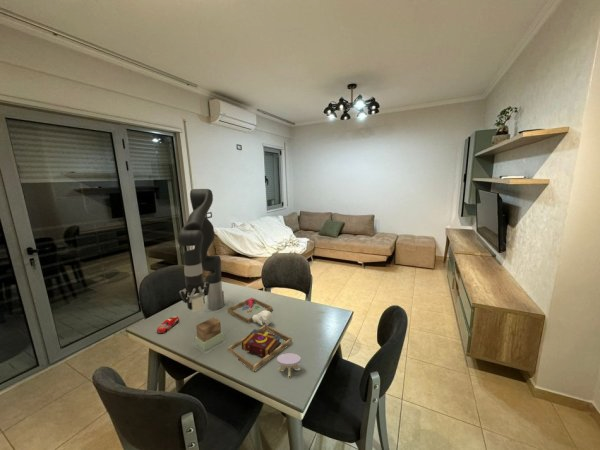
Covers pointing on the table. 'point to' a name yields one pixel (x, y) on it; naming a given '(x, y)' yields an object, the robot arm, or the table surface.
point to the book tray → (266, 358)
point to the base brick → (209, 342)
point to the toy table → (288, 361)
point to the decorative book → (261, 343)
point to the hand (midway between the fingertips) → (196, 306)
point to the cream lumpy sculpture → (263, 317)
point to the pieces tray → (246, 320)
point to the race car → (168, 324)
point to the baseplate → (211, 347)
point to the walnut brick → (208, 329)
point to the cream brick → (197, 302)
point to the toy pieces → (250, 305)
